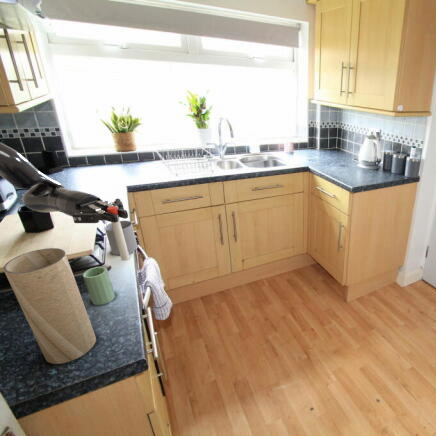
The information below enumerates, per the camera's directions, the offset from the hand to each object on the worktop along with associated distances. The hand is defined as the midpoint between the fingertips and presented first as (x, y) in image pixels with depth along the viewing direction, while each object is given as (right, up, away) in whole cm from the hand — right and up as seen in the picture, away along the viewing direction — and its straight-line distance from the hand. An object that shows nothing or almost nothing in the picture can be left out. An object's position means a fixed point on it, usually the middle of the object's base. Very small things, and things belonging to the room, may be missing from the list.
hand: (121, 216), depth 85 cm
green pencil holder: (-11, -24, +9) cm, 28 cm away
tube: (-8, -32, -7) cm, 34 cm away
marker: (-3, -12, +7) cm, 14 cm away
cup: (-21, -12, +35) cm, 43 cm away
